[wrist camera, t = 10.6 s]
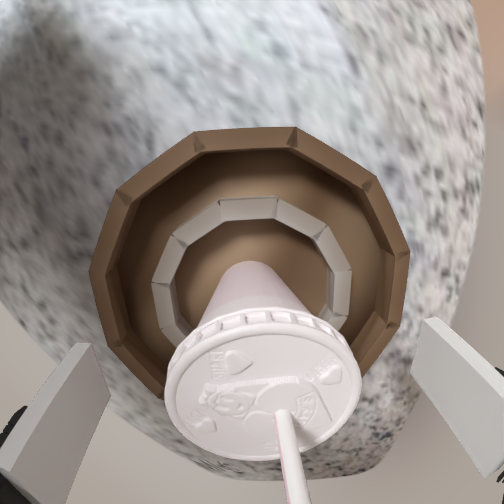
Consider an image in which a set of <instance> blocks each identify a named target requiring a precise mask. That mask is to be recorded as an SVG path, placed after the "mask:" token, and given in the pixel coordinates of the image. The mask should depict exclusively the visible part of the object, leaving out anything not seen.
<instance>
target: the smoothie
mask: <svg viewBox="0 0 504 504" xmlns="http://www.w3.org/2000/svg"><path fill="white" fill-rule="evenodd" d="M361 384H362V381H361V373H360V369H359V366H358V364H357V362H356V360H355V358H354V356H353V353H352V351H351V349H350V347H349V345H348V344H347V342H346V340H345V338H344V336H343V335H341V334H340V333H339V332H338V331H337V330H336V329H335V328H334V327H332V326H331V325H330V324H329V323H328V322H327V321H324V320H322V319H320V318H318V317H316V316H313V315H312V314H311V313H310V312H309V311H308V309H307V308H306V307H305V306H304V305H303V304H302V303H301V301H300V300H299V299H298V298H297V297H296V296H295V294H294V293H293V292H292V291H291V290H290V289H289V287H288V286H287V285H286V284H285V283H284V282H283V280H282V279H281V278H280V277H279V276H278V275H277V273H276V272H275V271H274V270H273V269H272V268H271V267H269V266H268V265H266V264H264V263H262V262H258V261H243V262H240V263H237V264H235V265H233V266H232V267H230V268H229V269H228V270H227V271H226V272H225V273H224V275H223V276H222V278H221V280H220V282H219V284H218V286H217V288H216V290H215V292H214V294H213V296H212V298H211V300H210V302H209V304H208V306H207V308H206V310H205V312H204V314H203V316H202V318H201V320H200V323H199V325H198V327H197V328H196V329H194V330H193V331H192V332H191V333H190V334H189V335H188V336H187V337H186V338H185V339H184V340H183V341H182V342H181V343H180V344H179V345H178V347H177V349H176V351H175V353H174V355H173V356H172V358H171V360H170V362H169V364H168V372H167V381H166V385H165V392H164V399H165V406H166V410H167V413H168V415H169V417H170V419H171V421H172V423H173V424H174V426H175V427H176V428H177V429H178V430H179V432H180V433H181V434H182V435H183V436H184V437H186V438H187V439H188V440H189V441H191V442H192V443H194V444H195V445H197V446H198V447H200V448H202V449H204V450H206V451H208V452H211V453H213V454H216V455H218V456H222V457H226V458H230V459H235V460H244V461H268V460H276V459H280V460H281V466H282V473H283V479H284V485H285V491H286V497H287V503H288V504H311V500H310V496H309V491H308V487H307V482H306V478H305V473H304V469H303V464H302V460H301V456H300V453H302V452H305V451H307V450H309V449H312V448H314V447H315V446H317V445H319V444H321V443H322V442H324V441H326V440H327V439H328V438H330V437H331V436H332V435H333V434H335V433H336V432H337V431H338V430H339V429H340V428H341V427H342V426H343V425H344V424H345V423H346V422H347V420H348V419H349V417H350V416H351V415H352V413H353V411H354V410H355V408H356V405H357V403H358V400H359V397H360V393H361Z"/></svg>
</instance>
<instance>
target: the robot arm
mask: <svg viewBox="0 0 504 504" xmlns="http://www.w3.org/2000/svg"><path fill="white" fill-rule="evenodd" d="M410 374H411V375H412V376H413V378H414V379H415V380H416V382H417V383H418V384H419V386H420V387H421V388H422V390H423V391H424V392H425V394H426V395H427V396H428V398H429V399H430V400H431V402H432V403H433V404H434V406H435V407H436V409H437V410H438V411H439V413H440V414H441V415H442V417H443V418H444V420H445V421H446V422H447V424H448V425H449V427H450V428H451V430H452V431H453V432H454V434H455V435H456V437H457V438H458V440H459V441H460V443H461V444H462V446H463V447H464V449H465V450H466V451H467V453H468V454H469V456H470V457H471V459H472V460H473V462H474V463H475V465H476V466H477V468H478V470H479V471H480V473H481V474H482V476H483V477H484V478H486V477H488V476H489V475H491V474H492V473H494V472H495V471H497V470H498V469H499V468H500V467H501V466H502V465H503V464H504V371H502V370H500V369H498V368H497V367H495V368H494V367H493V366H492V365H490V364H489V363H488V362H487V361H486V360H485V359H484V358H483V357H482V356H481V355H480V354H479V353H477V352H476V351H475V350H474V349H473V348H472V347H471V346H470V345H469V344H468V343H466V342H465V341H464V340H463V339H462V338H461V337H460V336H459V335H457V334H456V333H455V332H454V331H453V330H452V329H451V328H449V327H448V326H447V325H446V324H445V323H444V322H443V321H441V320H440V319H439V318H438V317H432V318H428V319H423V321H422V326H421V330H420V335H419V339H418V343H417V347H416V351H415V355H414V359H413V362H412V366H411V370H410ZM110 396H111V395H110V392H109V390H108V387H107V385H106V382H105V380H104V377H103V374H102V372H101V369H100V366H99V364H98V361H97V358H96V355H95V352H94V349H93V346H92V343H80V342H76V343H75V344H74V345H73V347H72V348H71V349H70V350H69V352H68V353H67V354H66V356H65V357H64V358H63V359H62V361H61V362H60V363H59V365H58V366H57V367H56V369H55V370H54V371H53V373H52V374H51V375H50V377H49V378H48V380H47V381H46V382H45V384H44V385H43V386H42V388H41V389H40V390H39V392H38V393H37V395H36V396H35V397H34V399H33V400H32V402H31V403H30V404H29V406H23V407H22V408H21V409H20V410H18V411H17V412H16V413H15V414H14V415H13V416H12V418H11V419H10V421H9V422H8V425H6V427H5V428H4V430H3V433H1V434H0V504H65V503H66V500H67V498H68V495H69V492H70V490H71V487H72V484H73V482H74V479H75V477H76V474H77V472H78V469H79V467H80V465H81V462H82V460H83V457H84V455H85V452H86V450H87V448H88V445H89V443H90V441H91V438H92V436H93V434H94V432H95V429H96V427H97V425H98V423H99V420H100V418H101V416H102V414H103V411H104V409H105V407H106V405H107V403H108V401H109V398H110ZM503 477H504V471H503V472H502V473H501V474H500V476H499V477H498V480H497V482H499V481H500V480H501V479H502V478H503ZM502 483H504V480H503V481H502ZM502 504H504V495H503V501H502Z"/></svg>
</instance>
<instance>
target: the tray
mask: <svg viewBox="0 0 504 504" xmlns="http://www.w3.org/2000/svg"><path fill="white" fill-rule="evenodd" d="M409 259H410V250H409V247H408V245H407V242H406V240H405V238H404V235H403V233H402V230H401V228H400V226H399V223H398V221H397V219H396V217H395V214H394V212H393V210H392V208H391V206H390V203H389V201H388V199H387V197H386V195H385V193H384V191H383V189H382V187H381V185H380V183H379V181H378V179H377V176H375V175H374V174H372V173H371V172H369V171H368V170H366V169H365V168H363V167H362V166H360V165H359V164H357V163H356V162H354V161H352V160H351V159H349V158H348V157H346V156H345V155H343V154H341V153H340V152H338V151H336V150H335V149H333V148H332V147H330V146H328V145H327V144H325V143H323V142H321V141H320V140H318V139H316V138H315V137H313V136H311V135H309V134H308V133H306V132H304V131H302V130H300V129H299V128H297V127H259V128H237V129H221V130H208V131H197V132H195V131H194V132H193V133H191V134H190V135H189V136H187V137H186V138H184V139H183V140H181V141H180V142H178V143H177V144H176V145H174V146H173V147H171V148H170V149H169V150H167V151H166V152H164V153H163V154H162V155H160V156H159V157H158V158H156V159H155V160H154V161H152V162H151V163H150V164H148V165H147V166H146V167H144V168H143V169H142V170H141V171H139V172H138V173H137V174H136V175H134V176H133V177H132V178H131V179H129V180H128V181H127V182H126V183H124V184H123V185H122V186H121V187H119V188H118V189H116V192H115V195H114V197H113V200H112V202H111V205H110V208H109V210H108V213H107V216H106V219H105V222H104V225H103V227H102V230H101V233H100V236H99V240H98V243H97V246H96V249H95V252H94V255H93V259H92V262H91V266H90V269H89V275H90V280H91V284H92V289H93V293H94V297H95V301H96V305H97V309H98V313H99V317H100V320H101V324H102V328H103V331H104V335H105V338H106V341H107V344H108V347H109V348H110V349H111V350H112V351H113V352H114V353H115V354H116V356H117V357H118V358H119V359H120V360H121V361H122V362H123V363H124V364H125V365H126V366H127V367H128V368H129V370H130V371H131V372H132V373H133V374H134V375H135V376H136V377H137V378H138V379H139V380H140V381H141V382H142V383H143V384H144V385H145V386H146V387H147V388H148V389H149V390H150V391H151V392H152V393H153V394H155V395H156V396H157V397H158V398H159V399H162V400H164V401H165V399H164V392H165V385H166V381H167V372H168V364H169V362H170V360H171V358H172V356H173V355H174V353H175V351H176V349H177V347H178V345H179V344H180V343H181V342H182V341H183V340H184V339H185V338H186V337H187V336H188V335H189V334H190V333H191V332H192V331H193V330H194V329H196V328H197V327H198V325H199V323H200V320H201V318H202V316H203V314H204V312H205V310H206V308H207V306H208V304H209V302H210V300H211V298H212V296H213V294H214V292H215V290H216V288H217V286H218V284H219V282H220V280H221V278H222V276H223V275H224V273H225V272H226V271H227V270H228V269H229V268H230V267H232V266H233V265H235V264H237V263H240V262H243V261H258V262H262V263H264V264H266V265H268V266H269V267H271V268H272V269H273V270H274V271H275V272H276V273H277V275H278V276H279V277H280V278H281V279H282V280H283V282H284V283H285V284H286V285H287V286H288V287H289V289H290V290H291V291H292V292H293V293H294V294H295V296H296V297H297V298H298V299H299V300H300V301H301V303H302V304H303V305H304V306H305V307H306V308H307V309H308V311H309V312H310V313H311V314H312V315H313V316H316V317H318V318H320V319H322V320H324V321H327V322H328V323H329V324H330V325H331V326H332V327H334V328H335V329H336V330H337V331H338V332H339V333H340V334H341V335H343V336H344V338H345V340H346V342H347V344H348V345H349V347H350V349H351V351H352V353H353V356H354V358H355V360H356V362H357V364H358V366H359V369H360V373H361V378H362V377H363V376H364V375H365V373H366V372H367V371H368V369H369V368H370V367H371V366H372V364H373V363H374V362H375V360H376V359H377V358H378V356H379V355H380V354H381V352H382V351H383V349H384V348H385V347H386V345H387V344H388V342H389V341H390V340H391V338H392V337H393V335H394V334H395V332H396V331H397V329H398V328H399V327H400V323H401V317H402V311H403V305H404V299H405V292H406V284H407V277H408V268H409Z"/></svg>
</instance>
